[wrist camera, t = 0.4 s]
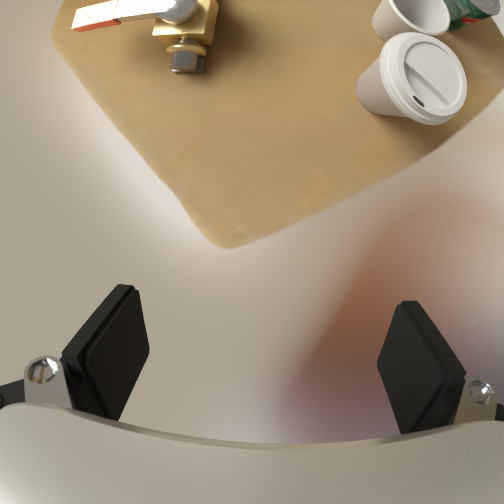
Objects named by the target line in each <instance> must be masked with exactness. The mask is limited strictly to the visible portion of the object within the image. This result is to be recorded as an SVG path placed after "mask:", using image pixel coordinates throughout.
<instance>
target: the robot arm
mask: <svg viewBox="0 0 504 504" xmlns="http://www.w3.org/2000/svg"><path fill="white" fill-rule="evenodd" d="M148 355H149V343H148V338H147V333H146V328H145V323H144V318H143V312H142V306H141V301H140V295H139V291H138V290H135V288H134V286H132V285H124V284H118V285H117V286H116V287H115V288H114V289H113V290H112V291H111V293H110V294H109V295H108V296H107V297H106V298H105V300H104V301H103V302H102V303H101V304H100V306H99V307H98V308H97V309H96V310H95V311H94V313H93V314H92V315H91V316H90V318H89V319H88V320H87V321H86V322H85V324H84V325H83V326H82V327H81V329H80V330H79V331H78V332H77V333H76V335H75V336H74V337H73V338H72V340H71V341H70V342H69V344H68V345H67V346H66V347H65V349H64V350H63V351H62V357H61V358H60V360H58V359H57V358H55V357H53V356H41V357H39V358H36V359H34V360H33V361H31V362H30V363H29V364H28V365H27V366H26V369H25V370H24V379H22V380H19V381H15V382H12V383H9V384H6V385H2V386H0V504H504V406H503V405H501V404H498V403H497V399H498V398H497V392H496V389H495V388H494V386H493V385H492V384H491V383H490V382H489V381H487V380H485V379H482V378H479V377H473V378H470V379H468V380H467V381H465V379H464V376H465V374H466V371H465V370H464V368H463V366H462V365H461V363H460V362H459V360H458V359H457V357H456V355H455V354H454V352H453V351H452V349H451V348H450V346H449V345H448V343H447V342H446V340H445V339H444V337H443V336H442V335H441V333H440V332H439V330H438V329H437V327H436V326H435V324H434V323H433V322H432V320H431V319H430V318H429V316H428V315H427V313H426V312H425V311H424V309H423V308H422V307H421V305H420V304H419V303H418V302H417V301H402V302H401V304H400V305H397V307H396V309H395V312H394V315H393V318H392V322H391V325H390V327H389V330H388V333H387V336H386V339H385V341H384V344H383V347H382V349H381V352H380V355H379V357H378V360H377V367H378V370H379V373H380V375H381V378H382V381H383V384H384V386H385V389H386V392H387V395H388V398H389V400H390V403H391V406H392V409H393V412H394V415H395V418H396V421H397V424H398V427H399V430H400V433H401V435H397V436H390V437H384V438H376V439H369V440H359V441H349V442H335V443H316V444H266V443H247V442H234V441H223V440H214V439H205V438H198V437H191V436H185V435H178V434H172V433H167V432H161V431H157V430H152V429H147V428H143V427H139V426H134V425H130V424H126V423H122V422H118V420H119V418H120V416H121V414H122V412H123V409H124V407H125V405H126V403H127V400H128V398H129V396H130V394H131V392H132V389H133V387H134V385H135V383H136V381H137V379H138V377H139V374H140V372H141V370H142V368H143V366H144V364H145V362H146V360H147V358H148Z"/></svg>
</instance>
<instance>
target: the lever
mask: <svg viewBox="0 0 504 504" xmlns="http://www.w3.org/2000/svg"><path fill="white" fill-rule="evenodd" d="M198 7H199V3H198V0H122V1H119V0H114V1H109V2H105V3H100V4H96V5H92V6H88V7H85V8H81V9H78V10H77V11H76V14H75V18H74V21H73V25H72V29H73V30H76V31H78V32H84V31H88V30H93V29H97V28H102V27H108V26H113V25H119V24H121V22H128V21H135V20H143V19H153V18H161V19H162V20H163V21H165V22H166V23H169V24H180V23H183V22H185V21H187V20H189V19H190V18H192V17H193V16H194V15H195V14H196V12H197V10H198Z"/></svg>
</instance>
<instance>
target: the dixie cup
mask: <svg viewBox="0 0 504 504" xmlns="http://www.w3.org/2000/svg"><path fill="white" fill-rule="evenodd" d="M372 25H373V28H374V30H375V32H376V33H377V35H378V36H379V37H380V38H382V39H383V40H385V41H386V42H387V41H388V40H389V39H391V38H392V37H393V36H395V35H398V34H401V33H407V32H416V33H421V34H425V35H428V36H430V35H433V36H436V35H441V34H443V33H445V32H446V31H447V29H448V28H449V25H450V15H449V11H448V8H447V6H446V4H445V3H444V1H443V0H382V1H381V3H380V5H379V7H378V9H377V10H376V12H375V14H374V16H373V18H372Z"/></svg>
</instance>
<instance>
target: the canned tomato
mask: <svg viewBox="0 0 504 504" xmlns="http://www.w3.org/2000/svg"><path fill="white" fill-rule="evenodd" d="M443 1H444V3H445V4H446V6H447V8H448V11H449V15H450V25H449V28H448V29H447V30H449V31H455V30H458V29H459V28H462V27H464V26H467V25H469V24H472V23H474V22H477V21H480V20H482V19H485V18H488V17H490V16H492V15H496V14H498V13H499V11H500V4H499V0H443Z"/></svg>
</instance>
